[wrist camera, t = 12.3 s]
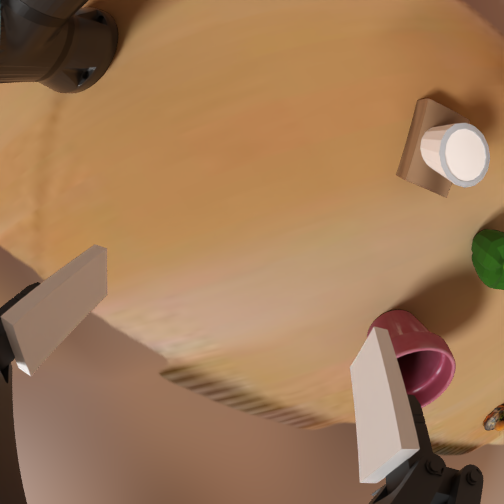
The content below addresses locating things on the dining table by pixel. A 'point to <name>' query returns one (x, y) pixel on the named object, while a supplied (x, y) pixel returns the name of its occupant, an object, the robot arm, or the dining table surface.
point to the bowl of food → (495, 420)
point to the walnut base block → (412, 159)
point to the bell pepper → (489, 257)
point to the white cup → (456, 153)
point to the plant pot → (418, 355)
